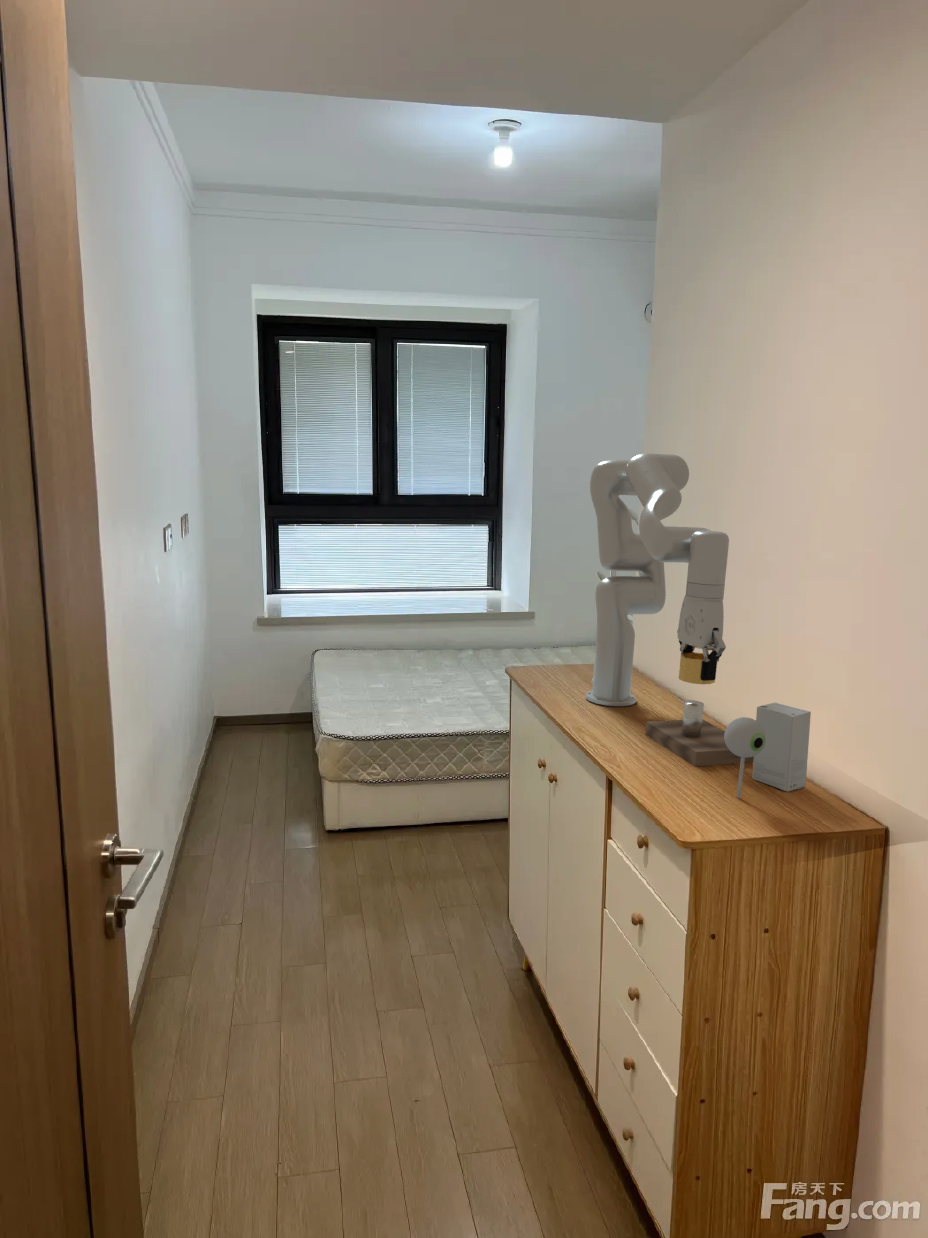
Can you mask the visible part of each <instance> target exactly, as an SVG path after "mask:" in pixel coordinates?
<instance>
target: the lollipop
mask: <svg viewBox="0 0 928 1238" xmlns="http://www.w3.org/2000/svg"><path fill="white" fill-rule="evenodd" d="M724 731H725V733H724V739H725V743H726V746H727V747H728V749H729V750H730V751H731V752H732V753H733V754H735V755H737V756H739V757H741V762H740V763H739V773H738V780H737V781H738V782H737V790H736V791H737V792H736V799H741V795H742V788H743V787H742V786H743V780H744V779H743V777H744V769H745V763H744V761H745V758H748V757H753V756H755V755H757V754H759V753H760V752H761V751H762V750H763V748H764V746H765V744H766V733H765V730H764V728H763V727H762V726H761V724H760V723H758V722H757V721H756V719H753V718H751V717H739V718H735V719H733V720H732V721H731V722H729V724H728V725H726V727H725V730H724Z"/></svg>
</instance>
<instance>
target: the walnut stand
mask: <svg viewBox="0 0 928 1238" xmlns="http://www.w3.org/2000/svg"><path fill="white" fill-rule="evenodd" d="M682 721H683V719H675V720H671V719H670V720H655V721H653V720H652V721H646V723H645V724H646V726H645V733H644V734H645V736H647V737H649V738H650V740H652V741H654V742H656V743H658V744H659V745H661V746H663V747H664V748H665V749H667V750H668V751H670V752H671V753H673V754H675V755H676V756H677V757H680V758H681V759H683V760H684V761H686V762H687V763H689V764H691V765H693V766H694V767H704V766H706V767H707V766H717V765H734V764H740V762H741V757H739V756H737V755H735V754H733V753H732V752H731V751H730V750H729V749H728V747H727V746H726V743H725V739H724V733H725V730H723V729H722V728H720V727H718V726H716V725H714V724H712V723H711V722H709V721H706V720H705V719H703V718H702V728H701V737H699V738H690V737H685V736H683V735H682V734H681V731H682ZM753 760H754V756H753V757H748V758H745V761H744V764H745V763H746V764H747V763H753Z"/></svg>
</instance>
